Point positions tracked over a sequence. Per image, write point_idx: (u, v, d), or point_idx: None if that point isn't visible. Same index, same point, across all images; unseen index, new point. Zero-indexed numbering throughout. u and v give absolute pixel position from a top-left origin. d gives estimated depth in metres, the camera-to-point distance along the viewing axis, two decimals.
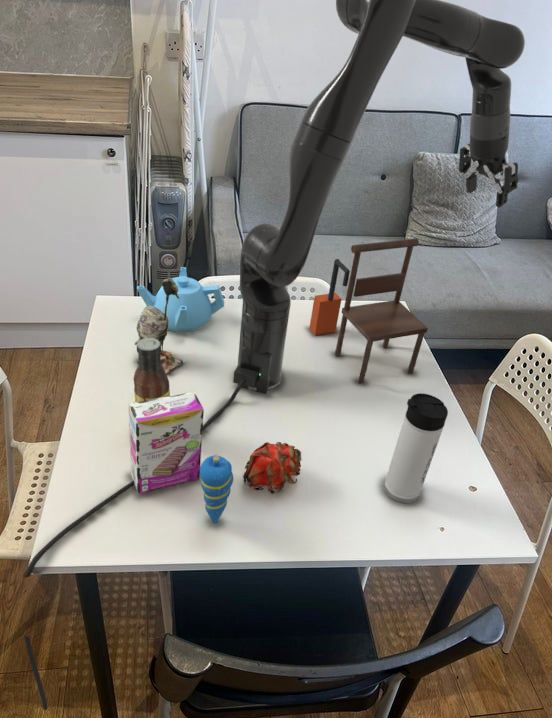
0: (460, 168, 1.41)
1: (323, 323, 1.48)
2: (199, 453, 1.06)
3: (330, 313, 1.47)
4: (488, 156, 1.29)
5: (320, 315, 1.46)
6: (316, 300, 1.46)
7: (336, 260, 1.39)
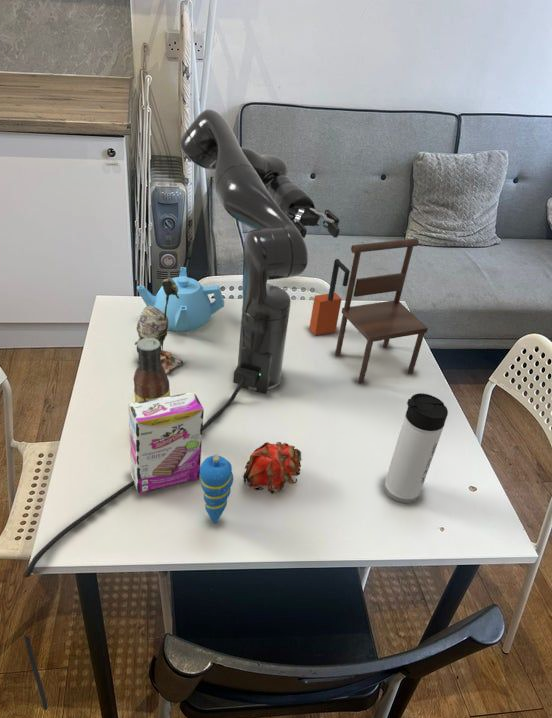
0: None
1: (323, 323, 1.48)
2: (199, 453, 1.06)
3: (330, 313, 1.47)
4: None
5: (320, 315, 1.46)
6: (316, 300, 1.46)
7: (336, 260, 1.39)
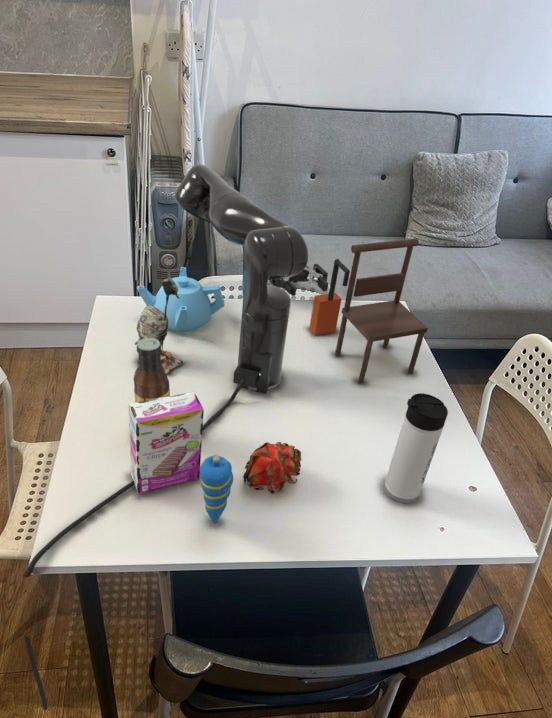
0: None
1: (323, 323, 1.48)
2: (199, 453, 1.06)
3: (330, 313, 1.47)
4: None
5: (320, 315, 1.46)
6: (316, 300, 1.46)
7: (336, 260, 1.39)
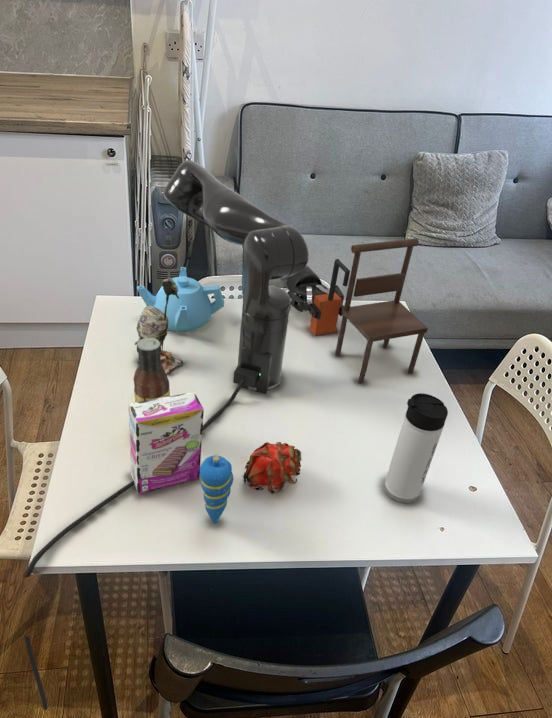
0: None
1: (323, 323, 1.48)
2: (199, 453, 1.06)
3: (330, 313, 1.47)
4: None
5: None
6: (316, 300, 1.46)
7: (336, 260, 1.39)
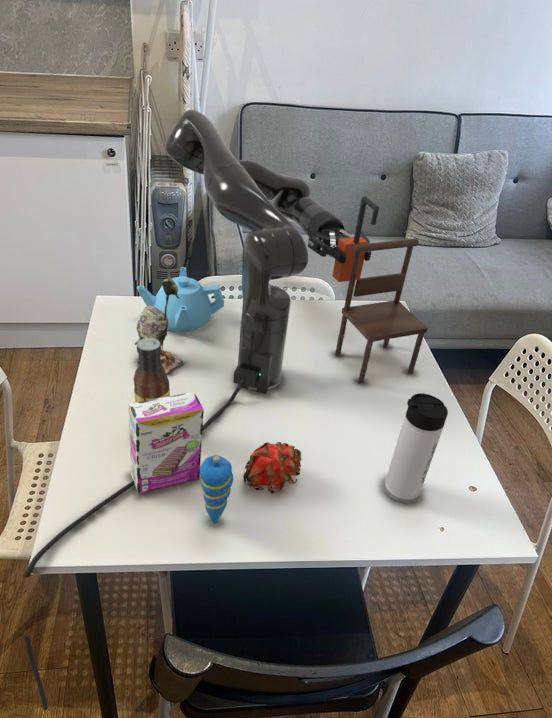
0: None
1: (347, 269, 1.39)
2: (199, 453, 1.06)
3: None
4: None
5: None
6: (340, 243, 1.37)
7: (363, 197, 1.30)
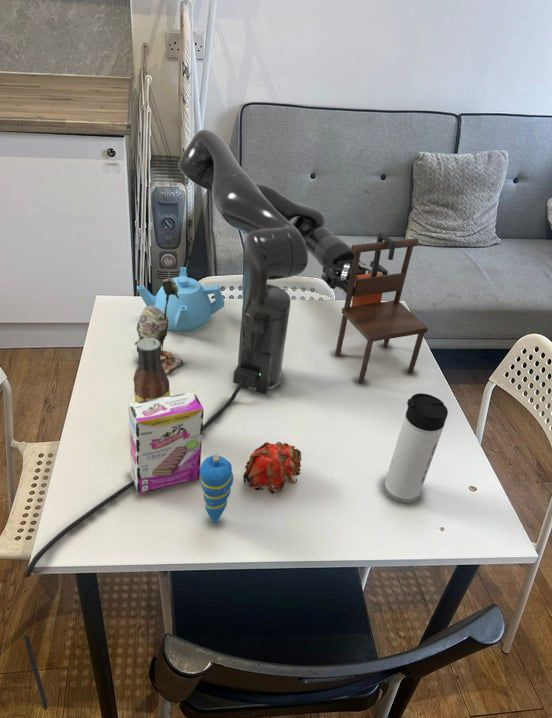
0: None
1: None
2: (199, 453, 1.06)
3: None
4: None
5: (362, 296, 1.37)
6: None
7: (380, 234, 1.30)
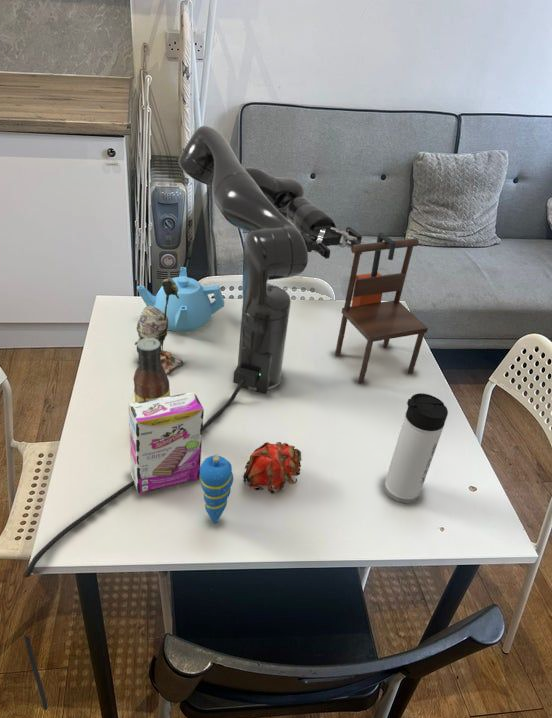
0: None
1: None
2: (199, 453, 1.06)
3: None
4: None
5: (362, 296, 1.37)
6: None
7: (380, 234, 1.30)
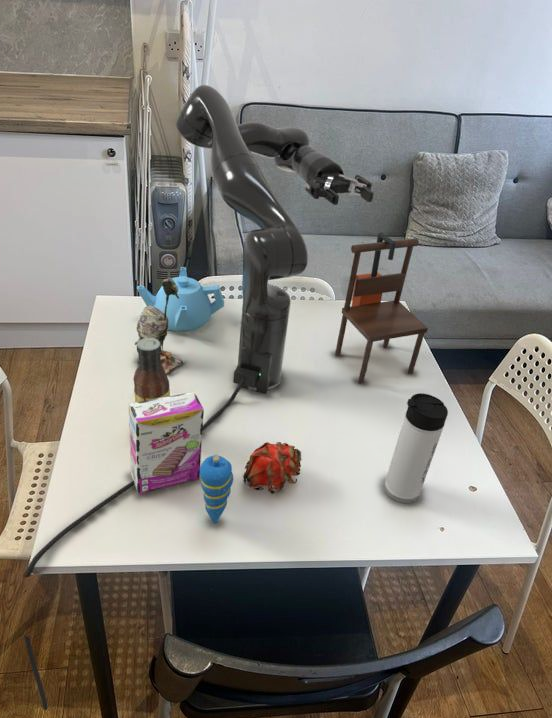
0: None
1: None
2: (199, 453, 1.06)
3: None
4: None
5: (362, 296, 1.37)
6: None
7: (380, 234, 1.30)
